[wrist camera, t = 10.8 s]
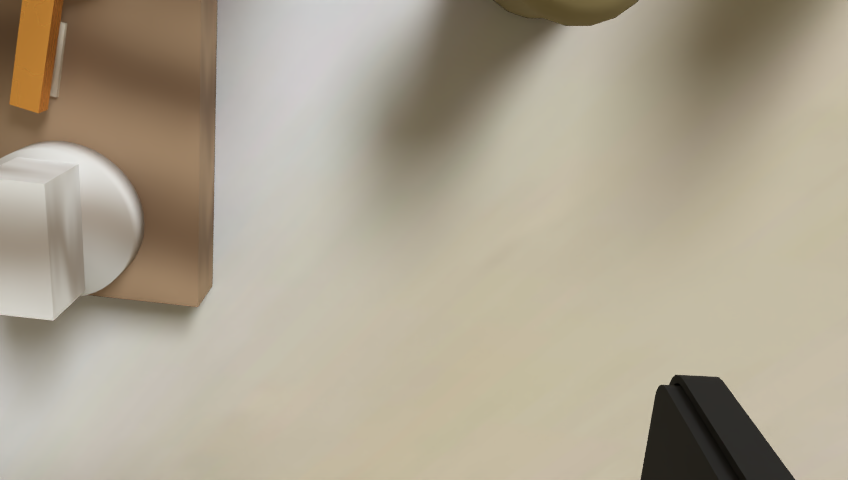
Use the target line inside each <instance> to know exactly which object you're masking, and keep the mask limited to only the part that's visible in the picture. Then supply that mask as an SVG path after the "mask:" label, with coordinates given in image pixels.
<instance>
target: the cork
mask: <svg viewBox="0 0 848 480" xmlns="http://www.w3.org/2000/svg"><path fill="white" fill-rule="evenodd" d="M494 1H495V2H496V3H498V4H499V5H500V6H502V7H503V8H504V9H505V10H507V11H508V12H511V13H514V14H517V15H520V16H523V17H526V18H544V19H547V20H550V21H553V22H556V23H559V24H562V25H565V26H591V25H594V24H597V23H600V22H603V21H607V20H610V19H613V18H615V17H617V16H618V15H620V14H621V13H622V12H624V11H625V10H627V9H628V8H629V7H631V6H632V5H634V4H635V3H637V2H638V0H494Z"/></svg>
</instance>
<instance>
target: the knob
mask: <svg viewBox="0 0 848 480" xmlns="http://www.w3.org/2000/svg"><path fill="white" fill-rule="evenodd" d="M62 7H63V0H22V6H21V14H20V22H19V30H18V38H17V46H16V54H15V62H14V70H13V78H12V86H11V94H10V103H9V104H10V105H13V106H16V107H19V108H23V109H26V110H29V111H32V112H36V113H41V112H43V111H46V110H48V105H49V98H50V91H51V84H52V77H53V70H54V63H55V56H56V49H57V42H58V35H59V28H60V21H61V14H62Z"/></svg>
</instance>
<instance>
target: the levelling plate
mask: <svg viewBox="0 0 848 480" xmlns="http://www.w3.org/2000/svg"><path fill="white" fill-rule="evenodd" d="M21 6H22V0H0V315H7V316H16V317H25V318H34V319H43V320H53V321H54V320H55V319H56V318H57V317H58V316H59V315H60V314H61V313H62V312H63V311H64V310H65V309H66V308H67V307H69V306H70V305H71V304H72V303H73V302H74V301H75V300H76V299H77V298H78V297H80V296H85V295H93V296H102V297H111V298H120V299H129V300H139V301H148V302H157V303H166V304H175V305H184V306H193V307H198V306H199V305H200V303H201V302H202V300H203V299H204V297H205V296H206V294H207V293H208V291H209V290H210V288H211V287H212V279H213V221H214V163H215V106H216V48H217V0H63V7H62V14H61V21H60V28H59V35H58V42H57V49H56V56H55V63H54V70H53V77H52V84H51V91H50V98H49V105H48V110H46V111H43V112H41V113H36V112H32V111H29V110H26V109H23V108H19V107H16V106H13V105H10V104H9V103H10V94H11V86H12V78H13V70H14V62H15V54H16V46H17V38H18V30H19V22H20V14H21Z"/></svg>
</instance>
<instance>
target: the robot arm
mask: <svg viewBox="0 0 848 480" xmlns="http://www.w3.org/2000/svg"><path fill="white" fill-rule="evenodd" d="M641 480H795V479H794V477H793V476H792V475H791V473H790V472H789V471H788V469H787V468H786V467H785V465H784V464H783V462H782V461H781V460H780V458H779V457H778V456H777V454H776V453H775V452H774V450H773V449H772V447H771V446H770V445H769V443H768V442H767V441H766V439H765V438H764V437H763V435H762V434H761V433H760V431H759V430H758V428H757V427H756V426H755V424H754V423H753V422H752V420H751V419H750V418H749V416H748V415H747V413H746V412H745V411H744V409H743V408H742V407H741V405H740V404H739V403H738V401H737V400H736V398H735V397H734V396H733V394H732V393H731V392H730V390H729V389H728V388H727V386H726V385H725V383H724V382H723V381H722V380H721V379H720V378H719V377H707V376H687V375H675V376H674V377H673V378H672V380H671V382H670V384H669V385H660V386H659V387H658V389H657V391H656V395H655V401H654V406H653V412H652V418H651V424H650V429H649V435H648V441H647V446H646V452H645V458H644V464H643V469H642V475H641Z"/></svg>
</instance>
